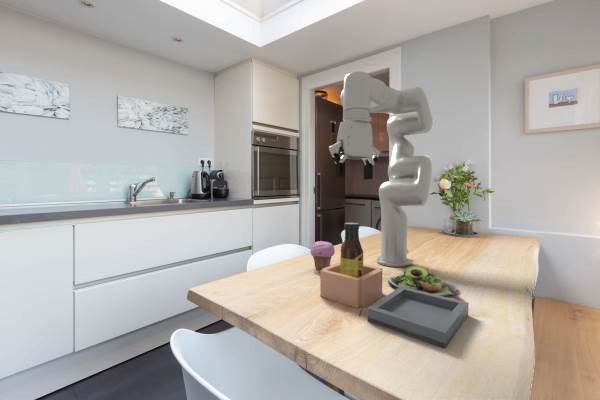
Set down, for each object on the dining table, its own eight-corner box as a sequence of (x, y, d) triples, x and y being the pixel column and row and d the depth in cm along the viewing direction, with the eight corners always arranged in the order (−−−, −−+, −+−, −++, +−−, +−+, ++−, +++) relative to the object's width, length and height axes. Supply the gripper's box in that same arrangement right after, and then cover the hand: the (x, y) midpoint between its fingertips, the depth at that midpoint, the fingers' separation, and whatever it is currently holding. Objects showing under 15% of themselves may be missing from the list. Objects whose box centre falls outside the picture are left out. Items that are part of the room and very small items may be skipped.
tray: (400, 297, 77) (401, 286, 77) (468, 315, 66) (468, 302, 66) (367, 321, 64) (367, 308, 64) (445, 348, 53) (445, 333, 53)
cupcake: (311, 264, 109) (311, 238, 108) (334, 265, 108) (334, 239, 107) (309, 271, 100) (309, 243, 99) (334, 272, 99) (334, 244, 98)
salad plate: (478, 296, 79) (479, 279, 78) (432, 308, 71) (432, 289, 71) (421, 275, 96) (422, 262, 96) (380, 283, 89) (380, 269, 88)
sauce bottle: (363, 300, 76) (363, 225, 74) (339, 298, 77) (339, 224, 76) (363, 290, 82) (363, 221, 81) (341, 289, 83) (341, 221, 82)
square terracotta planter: (344, 282, 89) (344, 260, 88) (384, 293, 80) (385, 268, 79) (318, 295, 79) (318, 270, 78) (360, 309, 70) (360, 281, 70)
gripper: (370, 125, 89) (369, 180, 89) (323, 117, 81) (322, 177, 81) (388, 119, 82) (386, 179, 82) (338, 110, 74) (337, 176, 74)
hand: (354, 178), depth 82 cm, fingers open, 9 cm apart
